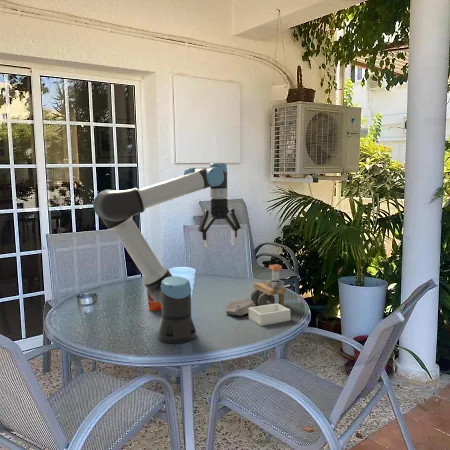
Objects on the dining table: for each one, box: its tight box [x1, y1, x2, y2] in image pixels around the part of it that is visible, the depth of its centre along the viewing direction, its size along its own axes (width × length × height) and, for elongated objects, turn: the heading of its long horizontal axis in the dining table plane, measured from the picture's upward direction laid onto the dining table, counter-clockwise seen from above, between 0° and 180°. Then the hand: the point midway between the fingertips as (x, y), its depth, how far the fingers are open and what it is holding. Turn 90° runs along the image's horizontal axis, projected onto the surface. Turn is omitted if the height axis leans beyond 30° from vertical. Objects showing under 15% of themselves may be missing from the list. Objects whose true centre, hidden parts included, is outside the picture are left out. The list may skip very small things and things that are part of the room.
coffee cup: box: [146, 291, 162, 312], centre depth 214 cm, size 8×8×15 cm
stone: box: [225, 298, 257, 317], centre depth 205 cm, size 13×10×6 cm
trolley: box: [249, 279, 287, 307], centre depth 214 cm, size 12×15×13 cm
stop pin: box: [268, 263, 283, 282], centre depth 210 cm, size 4×4×11 cm
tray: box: [248, 302, 291, 327], centre depth 196 cm, size 15×11×5 cm
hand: (220, 246), depth 198 cm, fingers open, 12 cm apart
